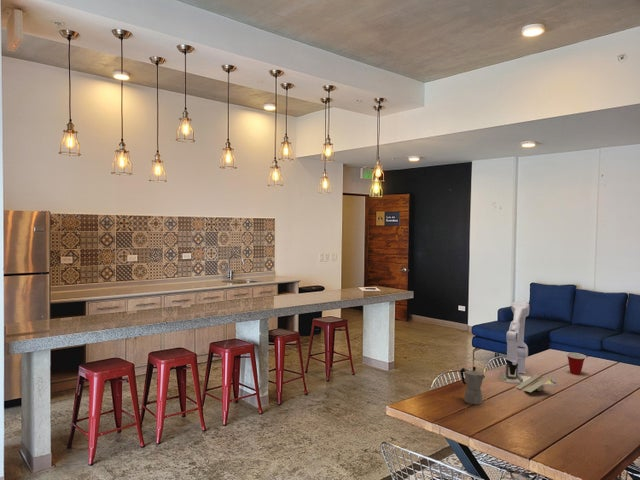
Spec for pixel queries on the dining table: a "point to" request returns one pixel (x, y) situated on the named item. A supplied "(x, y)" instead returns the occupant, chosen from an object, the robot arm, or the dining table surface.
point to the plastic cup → (575, 362)
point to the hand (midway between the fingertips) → (511, 373)
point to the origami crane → (533, 383)
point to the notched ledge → (524, 379)
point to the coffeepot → (472, 385)
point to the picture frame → (509, 372)
